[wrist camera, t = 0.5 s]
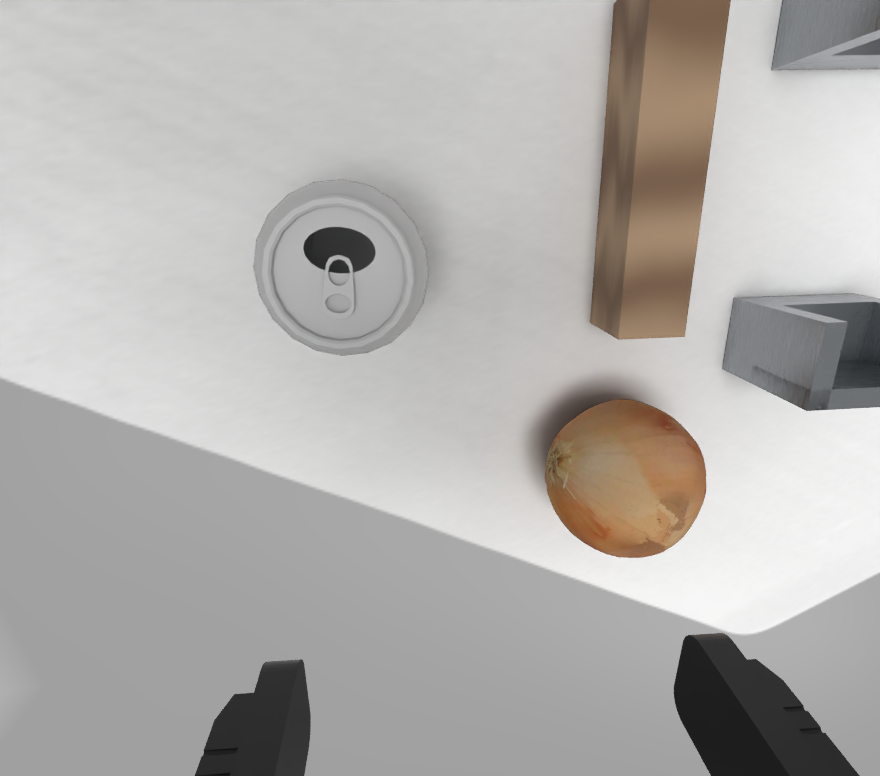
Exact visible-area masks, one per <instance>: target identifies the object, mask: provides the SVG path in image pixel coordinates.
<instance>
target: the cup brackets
mask: <svg viewBox="0 0 880 776" xmlns="http://www.w3.org/2000/svg"><path fill="white" fill-rule="evenodd" d="M813 69H880V0H783V3H782V9H781V16H780V22H779V28H778V34H777V40H776V46H775V52H774V58H773V64H772V70H813ZM722 369H724V370H726V371H728V372H730V373H732V374H734V375H736V376H738V377H740V378H742V379H744V380H746V381H748V382H750V383H752V384H754V385H756V386H758V387H760V388H762V389H764V390H766V391H768V392H770V393H772V394H774V395H776V396H778V397H780V398H782V399H784V400H786V401H788V402H790V403H792V404H794V405H796V406H798V407H800V408H802V409H804V410H806V411H811V410H831V409H850V408H869V407H880V299H879V298H873V297H868V296H863V295H857V294H826V295H799V296H773V297H747V298H734V301H733V307H732V313H731V319H730V325H729V331H728V338H727V344H726V350H725V356H724V362H723V368H722Z"/></svg>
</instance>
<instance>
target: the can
mask: <svg viewBox="0 0 880 776" xmlns="http://www.w3.org/2000/svg"><path fill="white" fill-rule="evenodd" d="M254 272H255V277H256V282H257V287H258V291H259V295H260V297H261V299H262V301H263V302H264V304H265V306H266V308H267V310H268V311H269V313H270V315H271V317H272V319H273V320H274V321H275V322H276V323H277V324H278V325H279V326H280V327H281V328H282V329H284V330H285V331H286V332H287V333H288V334H289V335H290V336H291V337H292V338H293V339H295V340H297V341H299V342H301V343H303V344H305V345H306V346H308V347H310V348H312V349H314V350H316V351H321V352H326V353H331V354H336V355H341V356H343V355H353V354H362V353H368V352H371V351H373V350H375V349H378V348H380V347H382V346H384V345H387V344H389V343H391V342H392V341H393V340H394V339H396V338H397V337H398V336H399V335H400V334H401V333H402V332H403V331H404V330H406V329H407V328H408V327H409V326H410V325H411V323H412V321H413V320H414V318H415V316H416V314H417V313H418V311H419V309H420V307H421V306H422V304H423V301H424V296H425V291H426V287H427V282H428V267H427V257H426V249H425V247H424V244H423V242H422V240H421V237H420V235H419V233H418V230H417V228H416V226H415V223H414V222H413V221H412V220H411V219H410V218H409V216H408V215H407V214H406V213H405V212H404V211H403V209H402V208H401V207H400V206H399V205H398V204H397V202H396V201H394V200H392V199H391V198H389V197H388V196H386V195H384V194H383V193H381V192H380V191H378V190H376V189H375V188H373V187H371V186H368V185H364V184H360V183H356V182H352V181H347V180H343V179H341V180H331V181H320V182H313V183H311V184H309V185H307V186H305V187H302V188H300V189H298V190H296V191H294V192H292V193H290V194H288V195H287V196H286V197H285V198H284V199H283V200H282V201H281V202H280V203H279V204H278V205H277V206H276V207H275V208H274V209H273V210H272V211H271V212H270V213H269V214H268V216H267V218H266V220H265V222H264V224H263V227H262V229H261V231H260V233H259V235H258V237H257V239H256V249H255V258H254Z"/></svg>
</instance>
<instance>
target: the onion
mask: <svg viewBox="0 0 880 776" xmlns="http://www.w3.org/2000/svg"><path fill="white" fill-rule="evenodd" d="M545 480H546V484H547V492H548V495H549V498H550V501H551V503H552V506H553V508H554V510H555V512H556V514H557V515H558V517H559V518H560V520H561V521H562V522H563V524H564V525H565V526H566V527H567V529H568V530H569V531H570V532H571V533H572V534H573V535H575V536H576V537H577V538H578V539H580V540H581V541H582V542H584V543H585V544H587V545H589V546H591V547H592V548H594V549H596V550H598V551H601V552H603V553H605V554H609V555H612V556H616V557H628V558H639V557H647V556H652V555H655V554H659V553H661V552H663V551H665V550H667V549H668V548H670V547H671V546H673V545H674V544H676V543H677V542H678V541H679V540H680V539H681V538H683V536H684V535H685V534H686V533H687V531H688V530H689V529H690V527H691V526H692V524H693V523H694V521H695V519H696V517H697V515H698V513H699V511H700V509H701V506H702V504H703V501H704V498H705V493H706V469H705V463H704V459H703V456H702V453H701V450H700V448H699V446H698V444H697V443H696V441H695V440H694V439H693V438H692V436H691V435H690V434H689V433H688V432H687V431H686V430H685V429H684V427H683V426H682V425H681V424H679V423H678V422H677V421H676V420H675V419H674V418H672V417H671V416H669V415H668V414H666V413H665V412H663V411H661V410H659V409H657V408H654V407H652V406H650V405H647V404H644V403H642V402H639V401H635V400H627V399H617V400H611V401H607V402H604V403H601V404H598V405H596V406H593V407H591V408H589V409H587V410H586V411H584V412H582V413H581V414H580V415H578V416H577V417H575V418H574V419H573V420H571V421H570V422H569V423H567V424H566V425H565V426H564V427H563V428H562V429H561V430H560V432H559V433H558V434H557V436H556V437H555V439H554V441H553V443H552V444H551V447H550V449H549V452H548V456H547V460H546V468H545Z"/></svg>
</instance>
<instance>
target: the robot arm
mask: <svg viewBox="0 0 880 776" xmlns="http://www.w3.org/2000/svg"><path fill="white" fill-rule="evenodd" d="M674 698H675V704H676V708H677V711H678V714H679V716H680V719H681V721H682V723H683V725H684V727H685V728H686V730H687V732H688V734H689V736H690V738H691V739H692V741H693V743H694V745H695V747H696V749H697V751H698V752H699V754H700V756H701V758H702V760H703V762H704V763H705V765H706V767H707V769H708V771H709V773H710V774H711V776H859V775H858V773H857V772H856V771H855V770H854V768H853V767H852V766H851V765H850V763H849V762H848V761H847V760H846V758H845V757H844V756H843V755H842V753H841V752H840V751H839V750H838V749H837V747H836V746H835V745H834V743H833V742H832V741H831V740H830V738H829V737H828V736H827V735H826V733H822V731H821V728H820V726H819V725H818V723H817V722H816V721H815V720H814V718H813V717H812V716H811V715H810V713H809V712H808V711H805V710H804V708H803V705H802V703H801V702H800V701H799V700H798V699H797V697H796V696H795V695H794V693H793V692H792V691H791V690H790V689H789V687H788V686H787V685H786V683H785V682H784V681H783V680H782V679H781V678H779V677H778V676H777V675H776V674H774V673H773V672H772V671H770V670H769V669H768V668H766V667H765V666H764V665H763V664H761V663H760V662H759V661H758V660H756V659H752V660H747V659H746V658H745V657H744V655H743V654H742V653H741V652H740V650H739V649H738V648H737V646H736V645H735V644H734V642H733V641H732V640H731V639H730V638H729V637H728V636H727V635H725V634H723V633H716V634H700V635H688V636H686V637H685V639H684V641H683V645H682V650H681V655H680V660H679V665H678V670H677V674H676V679H675V684H674ZM309 740H310V707H309V700H308V691H307V684H306V677H305V669H304V662H303V660H288V661H272V662H265V663H264V664H263V666H262V668H261V671H260V675H259V678H258V682H257V685H256V688H255V692H254V693H246V694H235V695H234V696H233V697H232V698H231V699H230V701H229V702H228V704H227V705H226V706H225V707H224V709H223V710H222V711H221V713H220V714H219V715H218V717H217V718H216V719H215V721H214V723H213V726H212V729H211V732H210V735H209V737H208V740H207V743H206V746H205V749H204V755H203V756H202V757H201V760H200V763H199V766H198V769H197V771H196V774H195V776H304V773H305V767H306V761H307V755H308V748H309Z"/></svg>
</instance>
